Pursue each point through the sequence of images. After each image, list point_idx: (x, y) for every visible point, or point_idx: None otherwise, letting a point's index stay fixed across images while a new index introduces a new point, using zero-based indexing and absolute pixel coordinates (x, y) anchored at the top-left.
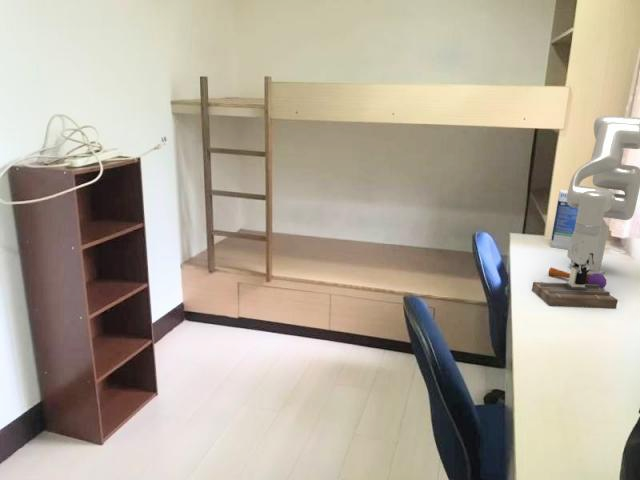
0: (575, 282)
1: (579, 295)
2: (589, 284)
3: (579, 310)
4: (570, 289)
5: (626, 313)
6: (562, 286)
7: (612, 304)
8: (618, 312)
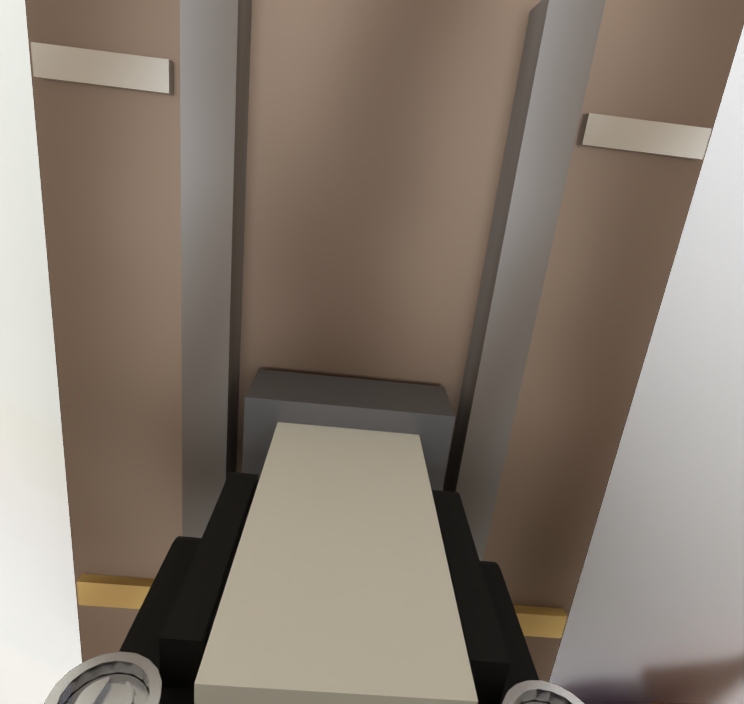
0: (236, 482)
1: (172, 422)
2: None
3: (12, 287)
4: (290, 382)
5: (28, 673)
6: (468, 362)
7: None
8: (38, 627)
